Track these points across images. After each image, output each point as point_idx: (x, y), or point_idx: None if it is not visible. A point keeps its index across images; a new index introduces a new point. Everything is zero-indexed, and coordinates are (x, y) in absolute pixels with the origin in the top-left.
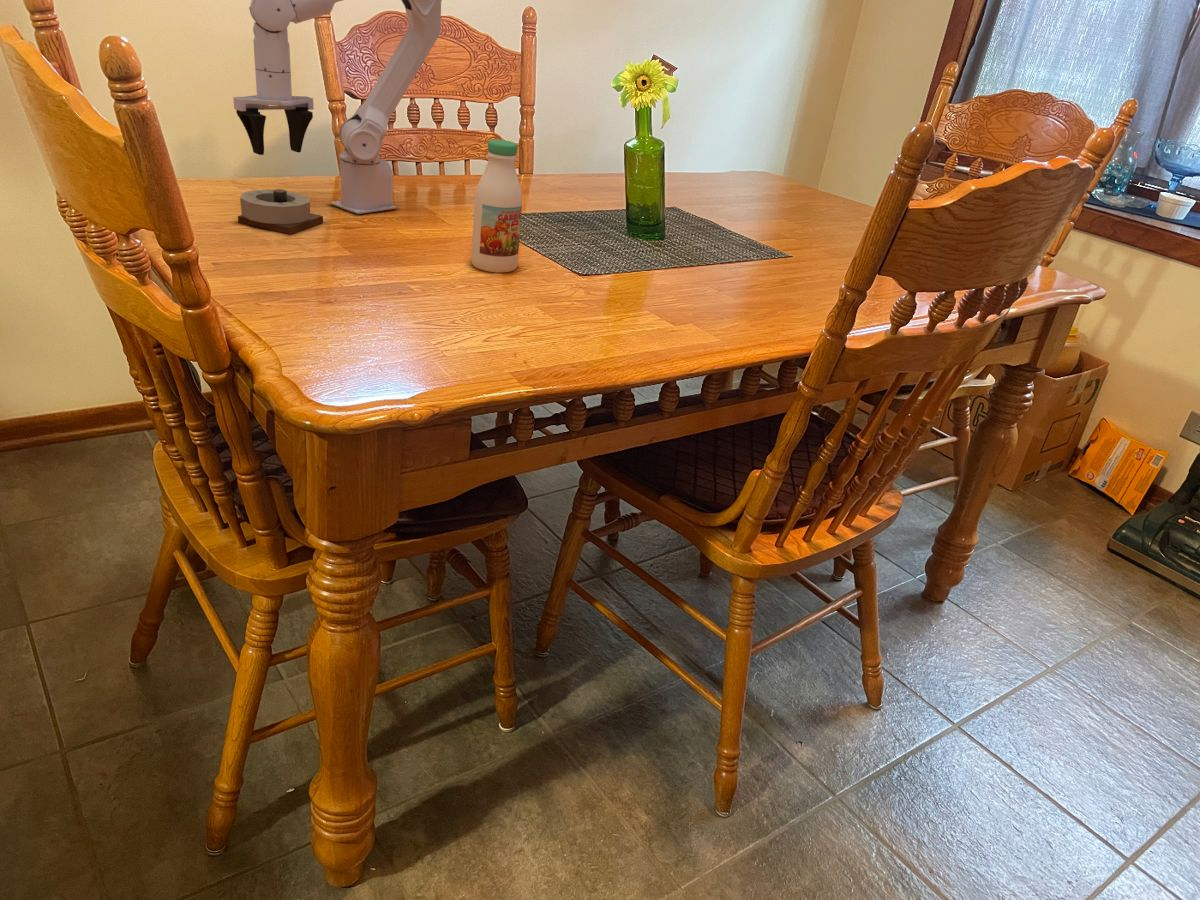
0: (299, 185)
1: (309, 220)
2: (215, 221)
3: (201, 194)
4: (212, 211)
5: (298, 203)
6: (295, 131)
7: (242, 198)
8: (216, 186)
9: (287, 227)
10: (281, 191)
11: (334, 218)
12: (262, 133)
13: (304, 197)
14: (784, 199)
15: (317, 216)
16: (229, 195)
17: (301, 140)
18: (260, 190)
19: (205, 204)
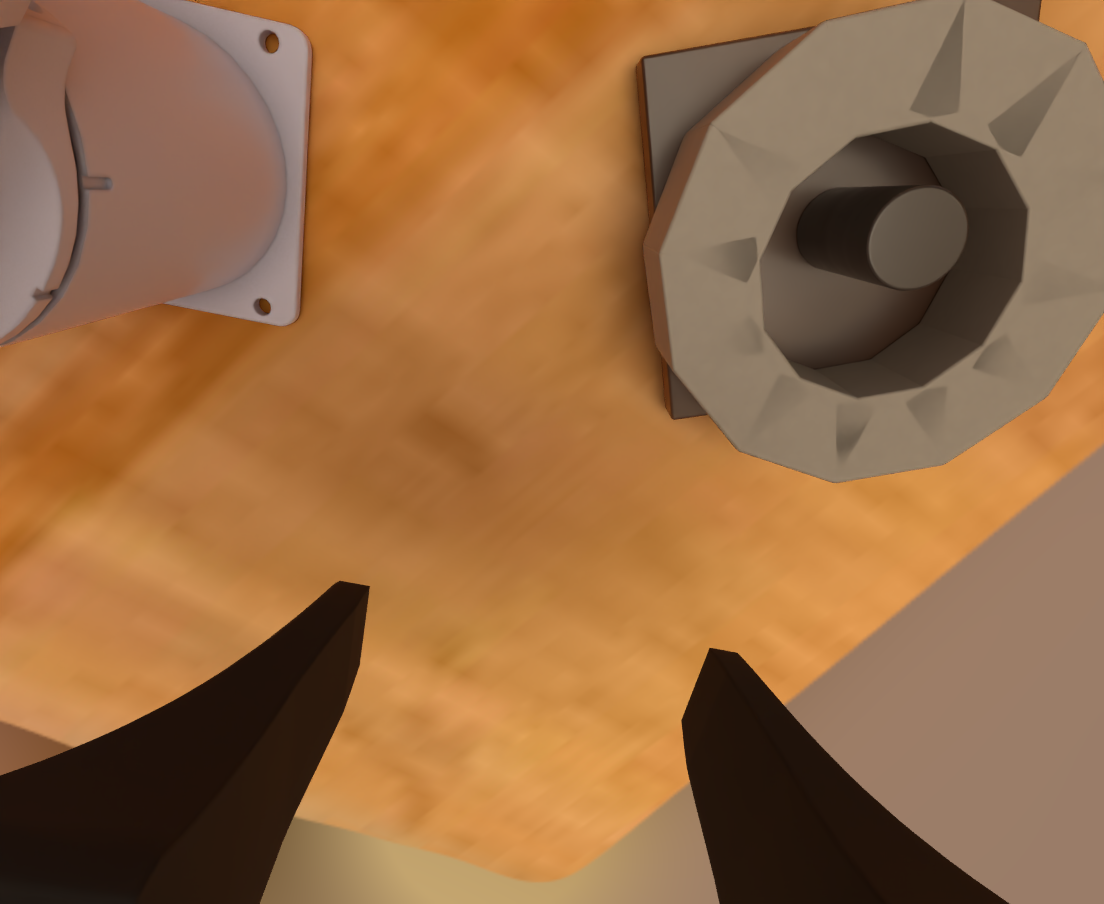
0: (181, 662)
1: (803, 32)
2: (1010, 448)
3: (674, 755)
4: (868, 567)
5: (928, 40)
6: (286, 758)
7: (1056, 377)
8: (528, 803)
9: (1038, 11)
10: (930, 216)
11: (499, 92)
12: (808, 784)
13: (736, 150)
14: None
15: (682, 70)
16: (595, 697)
17: (304, 632)
18: (800, 453)
19: (792, 653)
